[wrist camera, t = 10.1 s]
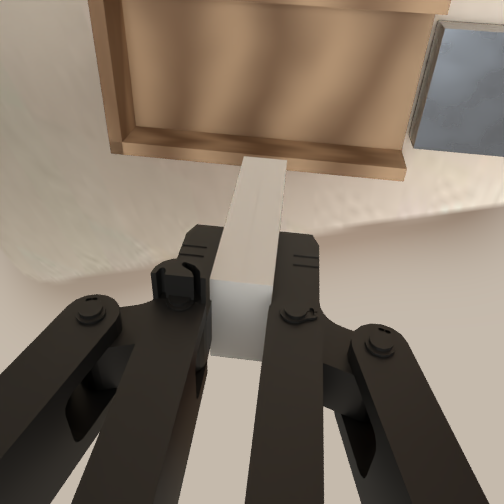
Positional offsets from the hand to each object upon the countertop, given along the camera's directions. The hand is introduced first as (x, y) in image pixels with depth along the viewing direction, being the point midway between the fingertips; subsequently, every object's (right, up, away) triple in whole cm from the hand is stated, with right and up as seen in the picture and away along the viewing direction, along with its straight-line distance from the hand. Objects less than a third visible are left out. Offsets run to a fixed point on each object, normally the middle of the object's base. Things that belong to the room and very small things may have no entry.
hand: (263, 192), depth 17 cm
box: (0, +11, +18) cm, 21 cm away
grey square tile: (+16, +10, +16) cm, 25 cm away
